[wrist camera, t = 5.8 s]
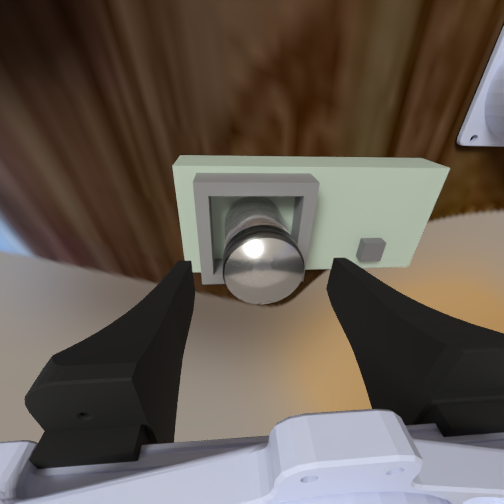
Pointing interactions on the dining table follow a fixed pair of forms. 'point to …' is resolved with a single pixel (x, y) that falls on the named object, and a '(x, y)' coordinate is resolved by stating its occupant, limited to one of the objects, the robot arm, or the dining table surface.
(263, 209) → the lens
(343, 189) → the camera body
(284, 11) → the dining table surface
